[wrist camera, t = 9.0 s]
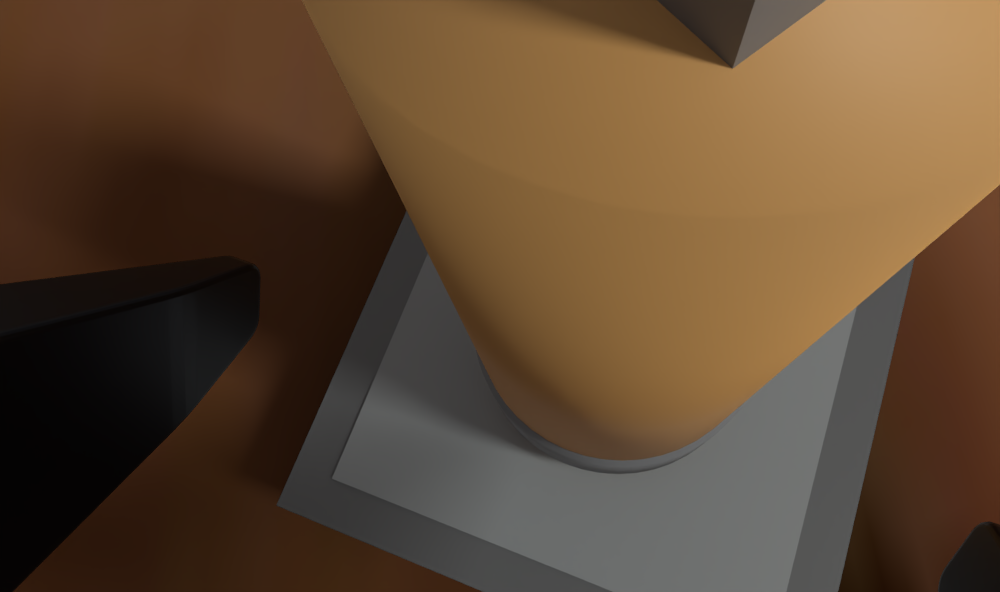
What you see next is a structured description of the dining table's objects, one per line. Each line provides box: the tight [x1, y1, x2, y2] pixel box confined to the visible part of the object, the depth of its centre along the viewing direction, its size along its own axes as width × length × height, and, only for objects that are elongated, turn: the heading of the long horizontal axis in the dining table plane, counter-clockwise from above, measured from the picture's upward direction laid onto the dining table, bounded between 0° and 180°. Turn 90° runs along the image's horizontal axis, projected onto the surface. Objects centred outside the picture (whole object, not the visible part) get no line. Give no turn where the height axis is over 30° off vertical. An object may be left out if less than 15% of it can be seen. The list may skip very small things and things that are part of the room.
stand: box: [277, 211, 915, 592], centre depth 18 cm, size 12×12×3 cm
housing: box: [302, 0, 1000, 474], centre depth 10 cm, size 6×6×15 cm
